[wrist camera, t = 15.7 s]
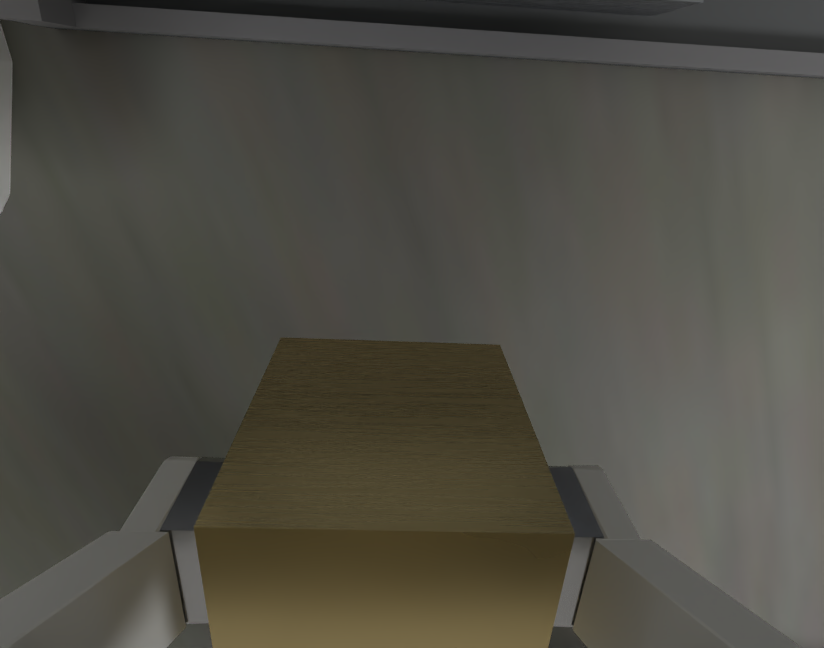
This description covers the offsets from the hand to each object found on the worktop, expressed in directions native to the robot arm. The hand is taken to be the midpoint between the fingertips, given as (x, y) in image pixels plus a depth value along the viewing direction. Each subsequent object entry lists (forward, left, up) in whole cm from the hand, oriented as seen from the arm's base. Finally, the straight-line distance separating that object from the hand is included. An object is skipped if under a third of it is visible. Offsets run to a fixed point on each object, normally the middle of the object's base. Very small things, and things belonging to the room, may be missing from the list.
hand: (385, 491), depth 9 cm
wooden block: (0, 0, -2) cm, 2 cm away
